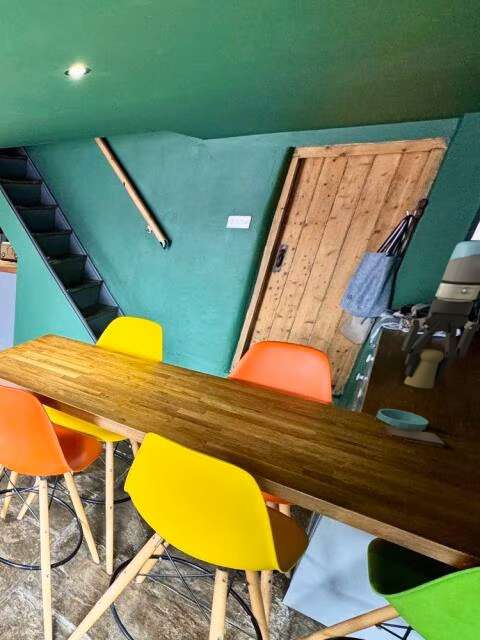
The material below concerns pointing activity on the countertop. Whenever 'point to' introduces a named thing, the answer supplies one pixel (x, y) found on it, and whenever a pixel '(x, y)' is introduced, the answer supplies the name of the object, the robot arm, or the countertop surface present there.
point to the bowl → (402, 419)
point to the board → (414, 435)
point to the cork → (425, 369)
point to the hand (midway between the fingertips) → (421, 376)
